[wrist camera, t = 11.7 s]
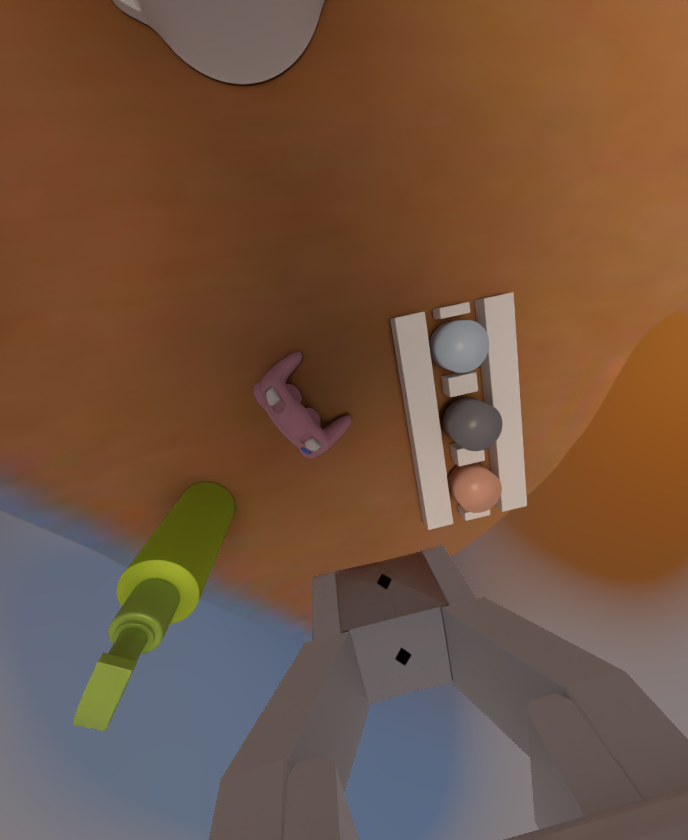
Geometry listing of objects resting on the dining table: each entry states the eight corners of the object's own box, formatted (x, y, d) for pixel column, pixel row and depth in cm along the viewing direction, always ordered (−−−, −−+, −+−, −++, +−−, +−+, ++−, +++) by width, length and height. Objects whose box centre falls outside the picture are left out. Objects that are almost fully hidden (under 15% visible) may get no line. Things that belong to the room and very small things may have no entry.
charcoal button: (440, 403, 36) (451, 409, 33) (485, 392, 36) (500, 398, 33) (445, 446, 37) (457, 456, 34) (489, 436, 38) (504, 445, 35)
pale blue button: (425, 326, 35) (436, 326, 32) (472, 316, 35) (486, 315, 32) (432, 373, 36) (442, 377, 33) (476, 363, 37) (491, 366, 34)
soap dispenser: (169, 525, 38) (28, 726, 19) (192, 473, 37) (64, 633, 18) (219, 543, 39) (135, 748, 20) (243, 493, 38) (176, 663, 19)
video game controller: (270, 367, 36) (235, 396, 30) (299, 344, 34) (268, 371, 28) (327, 436, 39) (305, 474, 33) (357, 419, 37) (340, 457, 31)
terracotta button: (444, 466, 39) (455, 477, 36) (486, 456, 40) (500, 466, 37) (449, 504, 41) (460, 517, 38) (489, 494, 41) (503, 507, 38)
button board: (389, 318, 35) (394, 318, 33) (502, 294, 35) (513, 292, 33) (422, 520, 41) (428, 529, 39) (516, 497, 42) (526, 505, 40)
